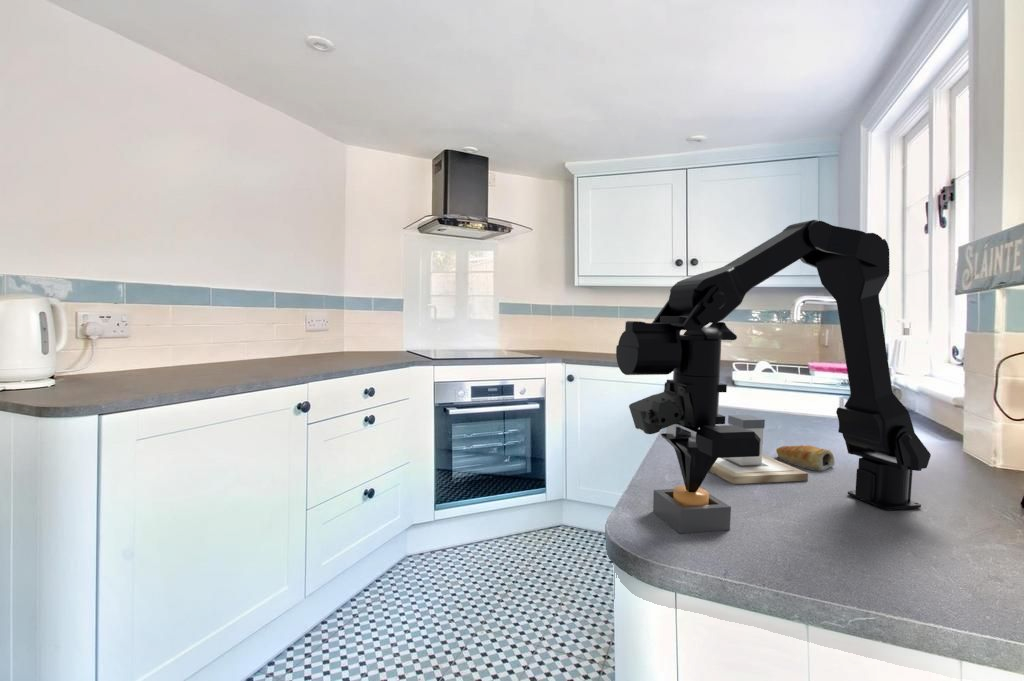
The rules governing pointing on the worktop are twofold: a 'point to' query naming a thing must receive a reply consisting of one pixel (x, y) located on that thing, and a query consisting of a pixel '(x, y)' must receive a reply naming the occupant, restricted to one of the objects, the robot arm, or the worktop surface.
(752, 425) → the two-tone grey block
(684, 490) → the button
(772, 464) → the picture frame
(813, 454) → the pastry
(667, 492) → the button housing
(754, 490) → the worktop surface
